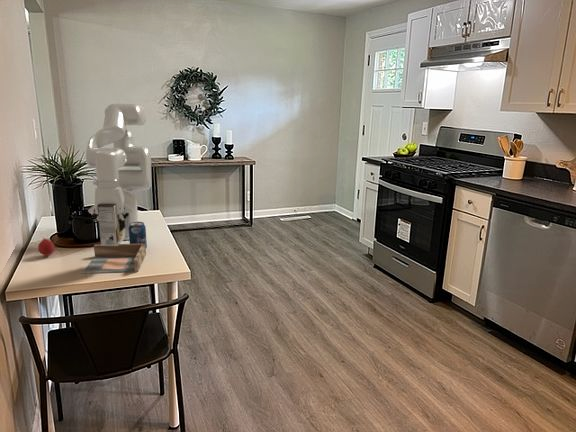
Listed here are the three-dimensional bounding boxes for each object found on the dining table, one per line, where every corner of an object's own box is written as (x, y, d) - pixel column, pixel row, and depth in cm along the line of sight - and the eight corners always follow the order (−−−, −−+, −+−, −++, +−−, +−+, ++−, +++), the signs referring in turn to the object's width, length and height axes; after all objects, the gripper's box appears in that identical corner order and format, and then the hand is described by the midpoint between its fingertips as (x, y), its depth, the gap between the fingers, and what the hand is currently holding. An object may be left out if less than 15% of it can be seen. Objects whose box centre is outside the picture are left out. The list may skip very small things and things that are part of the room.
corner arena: (95, 255, 175) (94, 244, 174) (145, 254, 178) (145, 243, 177) (82, 273, 158) (81, 261, 157) (138, 271, 161) (137, 259, 160)
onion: (51, 252, 177) (49, 234, 175) (58, 256, 174) (55, 237, 172) (36, 256, 173) (34, 237, 171) (42, 260, 170) (40, 241, 167)
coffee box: (109, 238, 169) (105, 198, 164) (125, 238, 169) (122, 199, 165) (100, 246, 160) (96, 204, 156) (117, 246, 160) (114, 205, 156)
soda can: (141, 253, 180) (139, 226, 176) (126, 251, 181) (124, 225, 178) (150, 248, 186) (148, 221, 183) (135, 246, 187) (133, 220, 184)
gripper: (80, 186, 154) (85, 233, 158) (130, 186, 156) (133, 232, 161) (86, 182, 161) (91, 227, 166) (134, 182, 163) (137, 226, 168)
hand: (112, 229), depth 163 cm, fingers closed on coffee box, 6 cm apart
